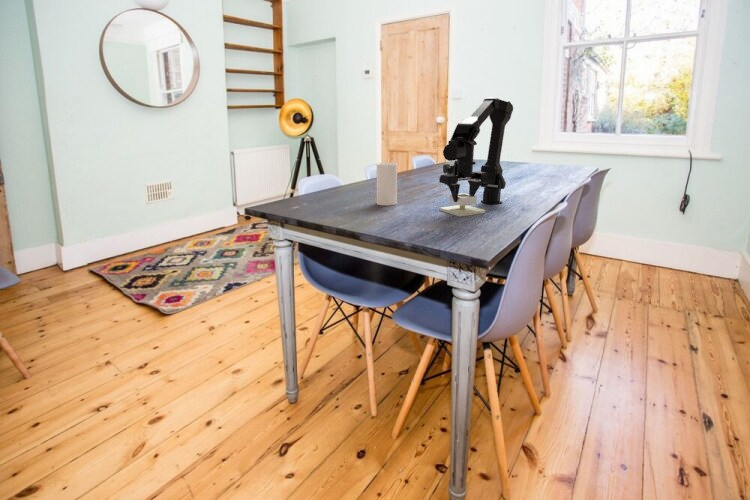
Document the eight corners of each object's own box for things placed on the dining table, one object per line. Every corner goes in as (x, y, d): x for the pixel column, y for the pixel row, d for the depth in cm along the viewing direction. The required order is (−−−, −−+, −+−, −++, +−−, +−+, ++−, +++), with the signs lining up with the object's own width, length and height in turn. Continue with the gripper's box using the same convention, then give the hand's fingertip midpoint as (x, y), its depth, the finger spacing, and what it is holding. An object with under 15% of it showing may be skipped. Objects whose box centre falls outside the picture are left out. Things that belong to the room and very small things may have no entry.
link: (464, 200, 175) (464, 193, 174) (476, 204, 169) (476, 196, 169) (449, 202, 172) (449, 194, 171) (461, 206, 166) (461, 198, 165)
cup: (395, 205, 182) (395, 165, 177) (374, 205, 183) (374, 164, 178) (398, 201, 189) (398, 162, 184) (378, 201, 191) (378, 162, 186)
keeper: (464, 206, 179) (465, 194, 178) (485, 212, 169) (486, 199, 168) (439, 210, 174) (440, 197, 172) (459, 216, 164) (460, 202, 162)
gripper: (470, 155, 177) (468, 194, 181) (431, 157, 168) (429, 199, 173) (490, 157, 167) (487, 199, 172) (450, 160, 159) (448, 205, 164)
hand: (462, 200), depth 170 cm, fingers closed on link, 7 cm apart
